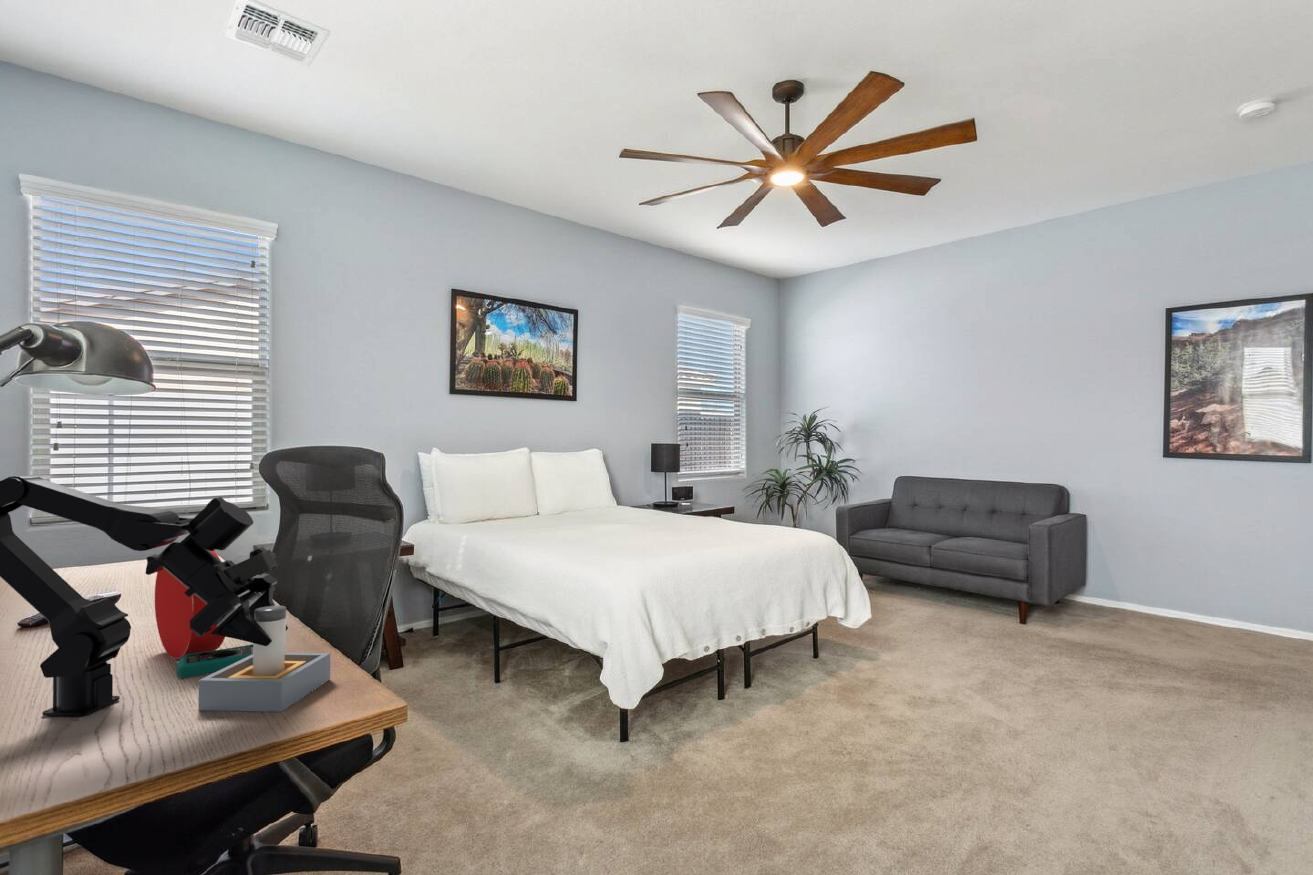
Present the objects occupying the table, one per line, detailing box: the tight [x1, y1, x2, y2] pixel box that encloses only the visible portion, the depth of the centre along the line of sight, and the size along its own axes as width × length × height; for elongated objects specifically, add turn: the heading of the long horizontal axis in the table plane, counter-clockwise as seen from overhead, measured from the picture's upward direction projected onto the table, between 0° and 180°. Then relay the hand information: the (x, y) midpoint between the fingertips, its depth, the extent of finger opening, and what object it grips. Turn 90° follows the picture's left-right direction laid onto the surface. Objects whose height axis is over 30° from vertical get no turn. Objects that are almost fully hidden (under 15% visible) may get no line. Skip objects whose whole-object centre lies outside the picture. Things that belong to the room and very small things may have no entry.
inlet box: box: [197, 652, 331, 713], centre depth 103 cm, size 13×13×4 cm
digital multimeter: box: [176, 643, 253, 679], centre depth 117 cm, size 7×15×3 cm, turn 124°
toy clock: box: [154, 550, 226, 660], centre depth 123 cm, size 20×6×20 cm, turn 54°
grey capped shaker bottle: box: [252, 605, 287, 676], centre depth 103 cm, size 4×4×12 cm
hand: (277, 637), depth 103 cm, fingers open, 7 cm apart
